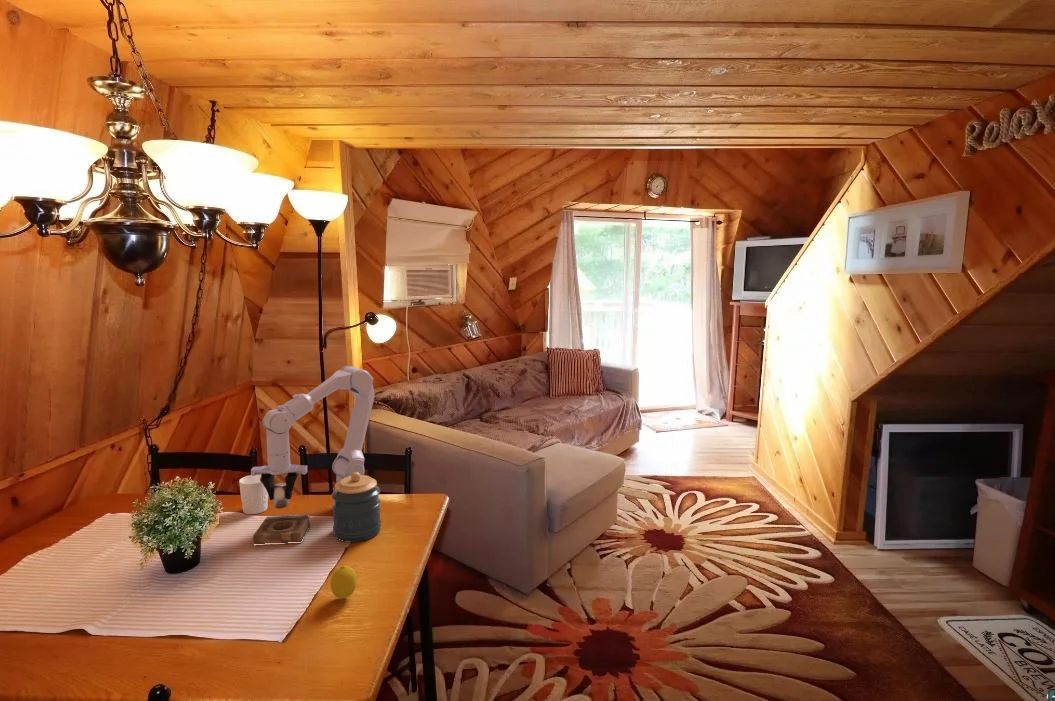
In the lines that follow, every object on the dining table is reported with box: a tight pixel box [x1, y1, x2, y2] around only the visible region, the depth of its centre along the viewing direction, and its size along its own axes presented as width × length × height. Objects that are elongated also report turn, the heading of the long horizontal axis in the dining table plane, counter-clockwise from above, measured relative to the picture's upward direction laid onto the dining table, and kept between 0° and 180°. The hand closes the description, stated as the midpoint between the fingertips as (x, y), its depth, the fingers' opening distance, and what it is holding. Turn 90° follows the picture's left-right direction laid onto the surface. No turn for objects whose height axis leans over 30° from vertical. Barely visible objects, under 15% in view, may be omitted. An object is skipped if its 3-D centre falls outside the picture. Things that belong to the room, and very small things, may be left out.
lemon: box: [330, 564, 357, 600], centre depth 121 cm, size 6×6×8 cm
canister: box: [331, 472, 382, 543], centre depth 151 cm, size 13×13×18 cm
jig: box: [252, 514, 311, 545], centre depth 149 cm, size 12×10×4 cm
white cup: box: [238, 474, 269, 515], centre depth 164 cm, size 8×8×10 cm
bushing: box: [272, 482, 290, 509], centre depth 152 cm, size 4×4×6 cm
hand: (280, 498), depth 152 cm, fingers closed on bushing, 4 cm apart
